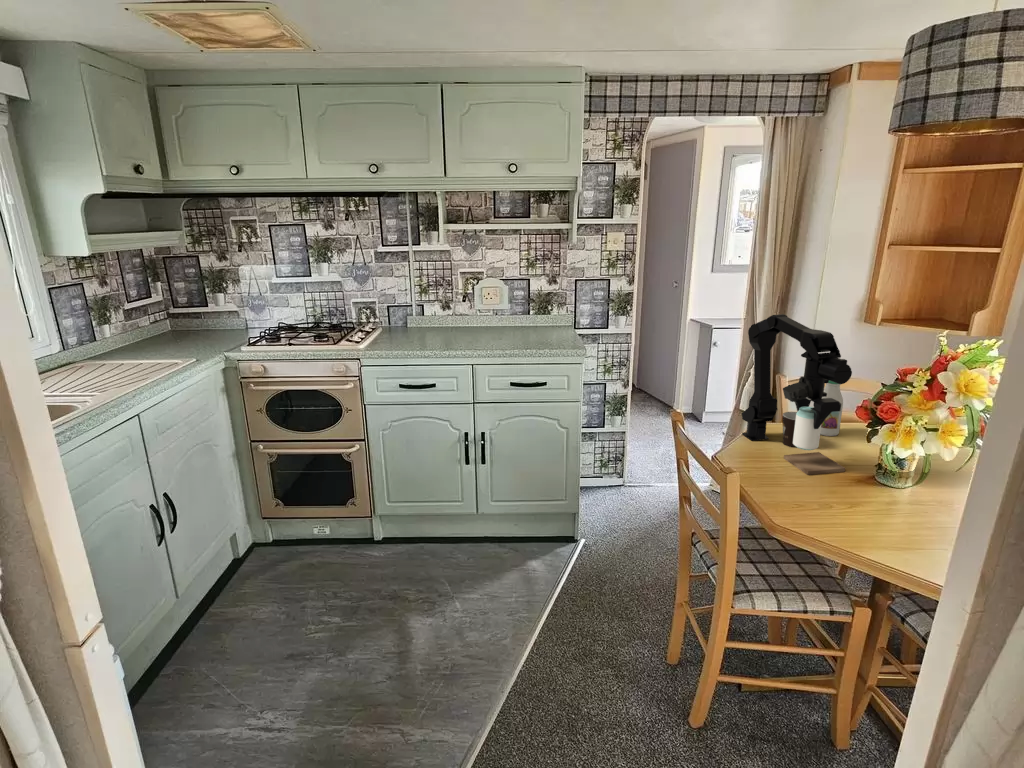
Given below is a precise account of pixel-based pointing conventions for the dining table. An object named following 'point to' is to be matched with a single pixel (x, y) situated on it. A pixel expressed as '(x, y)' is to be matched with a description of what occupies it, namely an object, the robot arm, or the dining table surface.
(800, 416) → the can
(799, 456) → the base board
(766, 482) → the dining table surface
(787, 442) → the coffee mug
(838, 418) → the milk bottle
